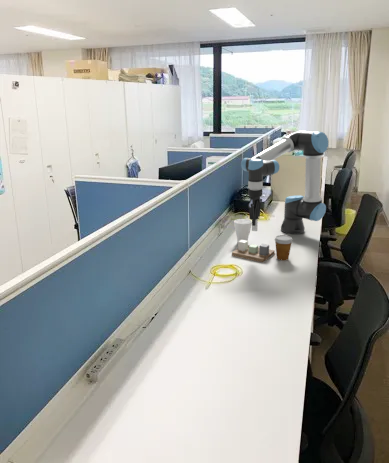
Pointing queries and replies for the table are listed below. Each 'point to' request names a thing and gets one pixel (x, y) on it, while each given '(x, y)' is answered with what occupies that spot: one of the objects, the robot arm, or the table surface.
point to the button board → (252, 255)
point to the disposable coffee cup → (283, 246)
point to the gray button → (264, 249)
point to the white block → (242, 245)
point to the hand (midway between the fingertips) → (254, 230)
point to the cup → (242, 229)
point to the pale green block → (253, 248)
